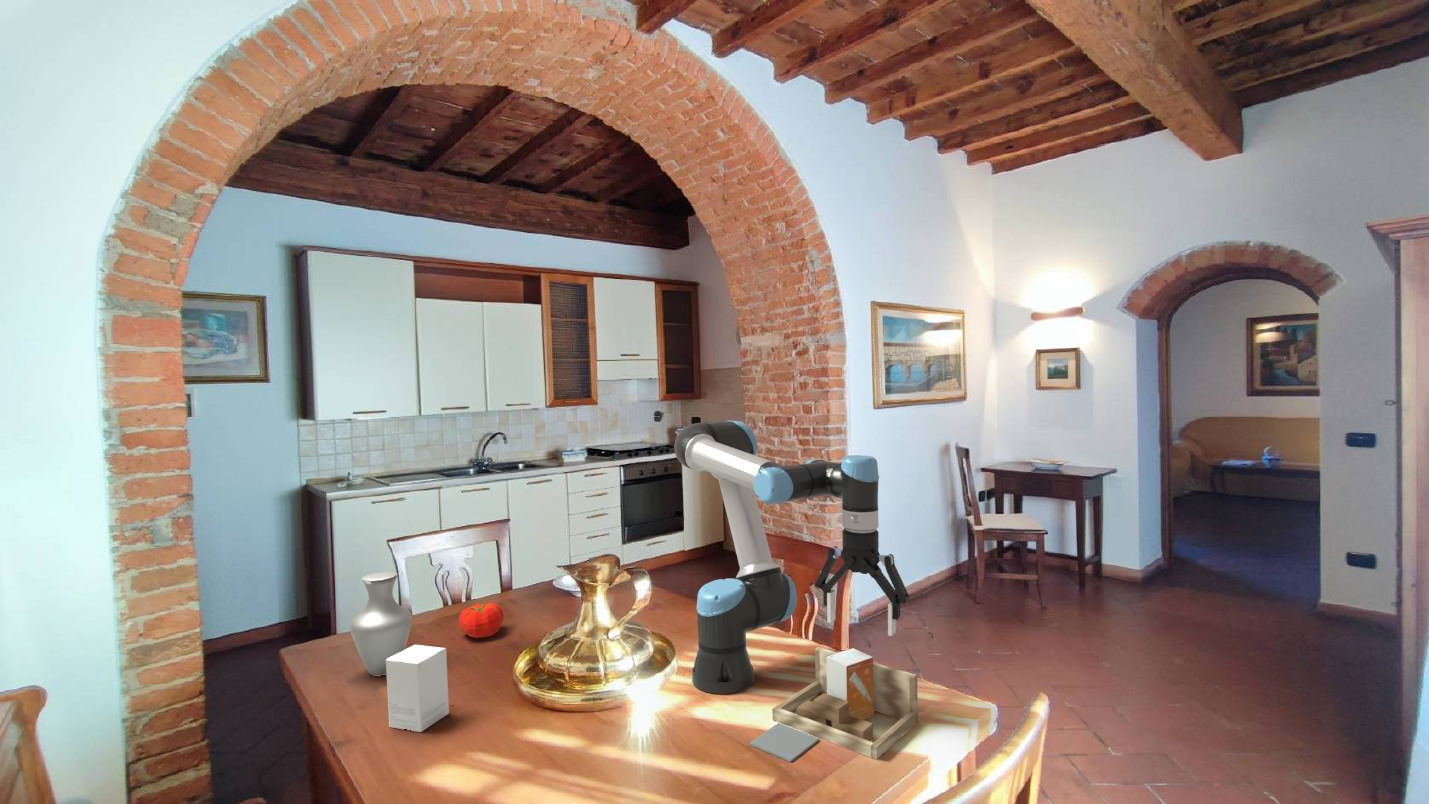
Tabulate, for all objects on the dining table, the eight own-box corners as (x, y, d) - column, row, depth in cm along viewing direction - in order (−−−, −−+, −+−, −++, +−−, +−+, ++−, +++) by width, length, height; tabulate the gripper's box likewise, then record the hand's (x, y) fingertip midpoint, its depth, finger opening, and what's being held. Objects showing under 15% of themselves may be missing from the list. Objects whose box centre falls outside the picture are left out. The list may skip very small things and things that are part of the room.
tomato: (472, 626, 205) (471, 597, 205) (511, 627, 203) (510, 598, 203) (448, 643, 191) (447, 613, 191) (490, 645, 190) (488, 614, 189)
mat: (749, 745, 133) (749, 743, 133) (778, 724, 141) (778, 723, 141) (790, 762, 127) (790, 760, 127) (819, 740, 134) (819, 738, 134)
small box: (847, 728, 139) (846, 666, 138) (826, 716, 144) (825, 656, 144) (875, 716, 143) (873, 656, 143) (853, 705, 149) (852, 647, 148)
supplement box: (450, 713, 150) (448, 647, 150) (421, 733, 141) (418, 663, 141) (418, 708, 153) (415, 643, 152) (387, 727, 144) (384, 658, 144)
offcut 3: (832, 737, 136) (831, 720, 136) (842, 729, 139) (841, 713, 139) (863, 749, 131) (863, 731, 131) (872, 740, 134) (872, 723, 134)
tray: (772, 719, 143) (771, 673, 143) (818, 689, 157) (817, 646, 156) (876, 759, 127) (875, 707, 127) (918, 721, 141) (917, 674, 140)
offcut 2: (813, 714, 138) (813, 700, 138) (824, 707, 141) (824, 693, 141) (838, 723, 134) (838, 709, 134) (849, 716, 137) (848, 701, 137)
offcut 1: (797, 723, 142) (797, 707, 142) (807, 716, 145) (807, 700, 145) (826, 734, 137) (825, 717, 137) (836, 726, 140) (835, 710, 140)
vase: (339, 679, 170) (334, 581, 169) (386, 657, 183) (382, 566, 182) (381, 687, 164) (376, 586, 163) (426, 664, 177) (422, 570, 177)
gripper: (799, 525, 146) (800, 621, 147) (913, 540, 132) (913, 645, 133) (814, 519, 152) (815, 611, 153) (924, 532, 138) (924, 633, 139)
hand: (860, 627), depth 143 cm, fingers open, 13 cm apart
